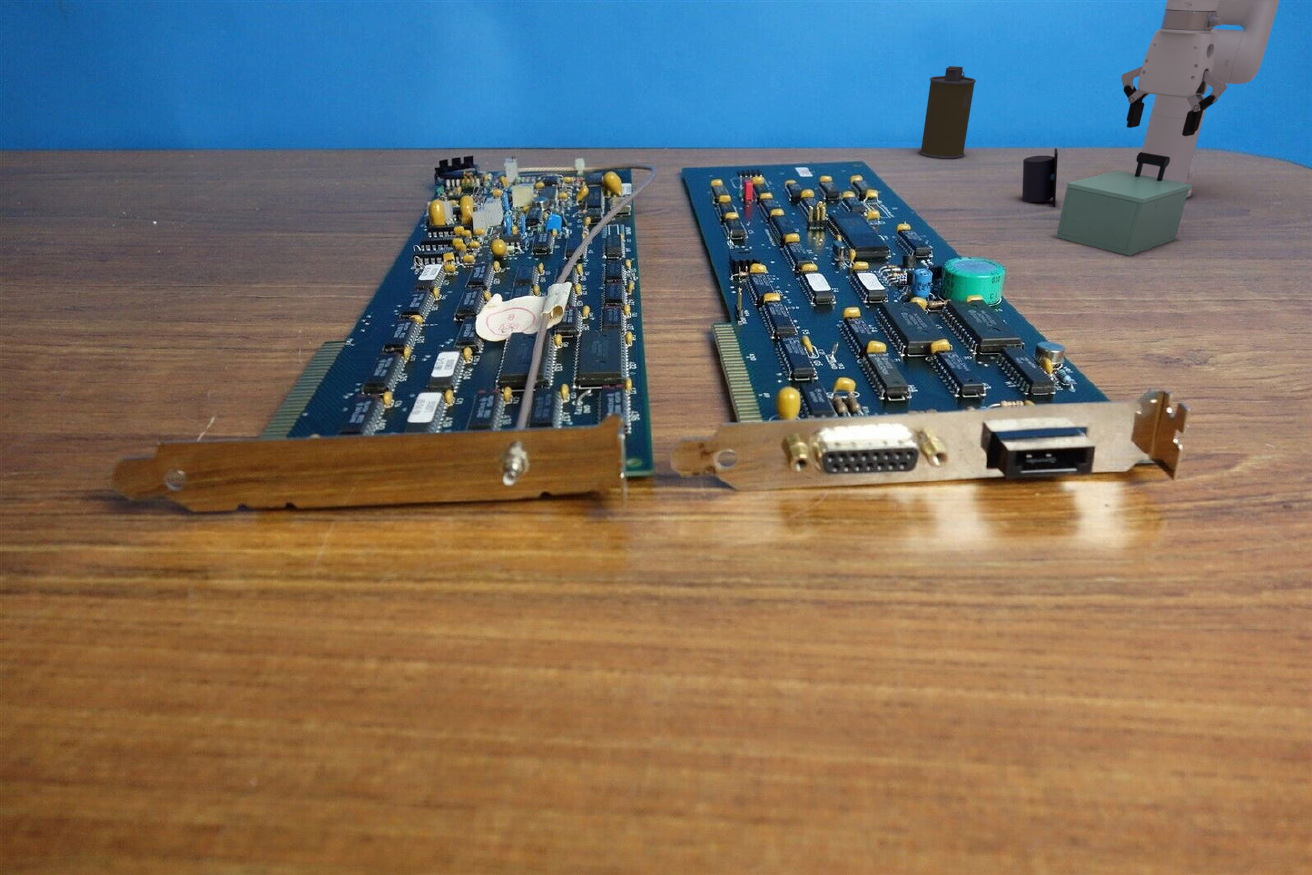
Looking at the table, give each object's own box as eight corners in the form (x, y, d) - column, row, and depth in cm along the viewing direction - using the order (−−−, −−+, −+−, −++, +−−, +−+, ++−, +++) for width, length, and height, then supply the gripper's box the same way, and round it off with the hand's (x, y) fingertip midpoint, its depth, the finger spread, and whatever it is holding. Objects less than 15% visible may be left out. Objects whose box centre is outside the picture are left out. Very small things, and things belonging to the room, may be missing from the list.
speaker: (1064, 200, 189) (1069, 147, 184) (1054, 207, 185) (1059, 153, 180) (1027, 197, 193) (1030, 146, 188) (1016, 204, 189) (1020, 152, 185)
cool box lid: (1116, 174, 171) (1123, 146, 169) (1191, 189, 161) (1199, 159, 159) (1066, 187, 162) (1072, 158, 160) (1142, 203, 153) (1150, 172, 150)
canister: (956, 160, 222) (970, 71, 212) (913, 155, 227) (925, 67, 217) (969, 152, 230) (983, 66, 220) (928, 148, 235) (940, 63, 225)
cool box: (1102, 223, 175) (1114, 175, 171) (1175, 240, 165) (1188, 190, 161) (1056, 237, 166) (1066, 187, 162) (1129, 256, 157) (1142, 204, 153)
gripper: (1253, 25, 149) (1221, 136, 157) (1147, 18, 161) (1123, 122, 169) (1231, 27, 145) (1200, 141, 153) (1124, 20, 157) (1100, 126, 165)
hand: (1159, 131), depth 161 cm, fingers open, 9 cm apart
